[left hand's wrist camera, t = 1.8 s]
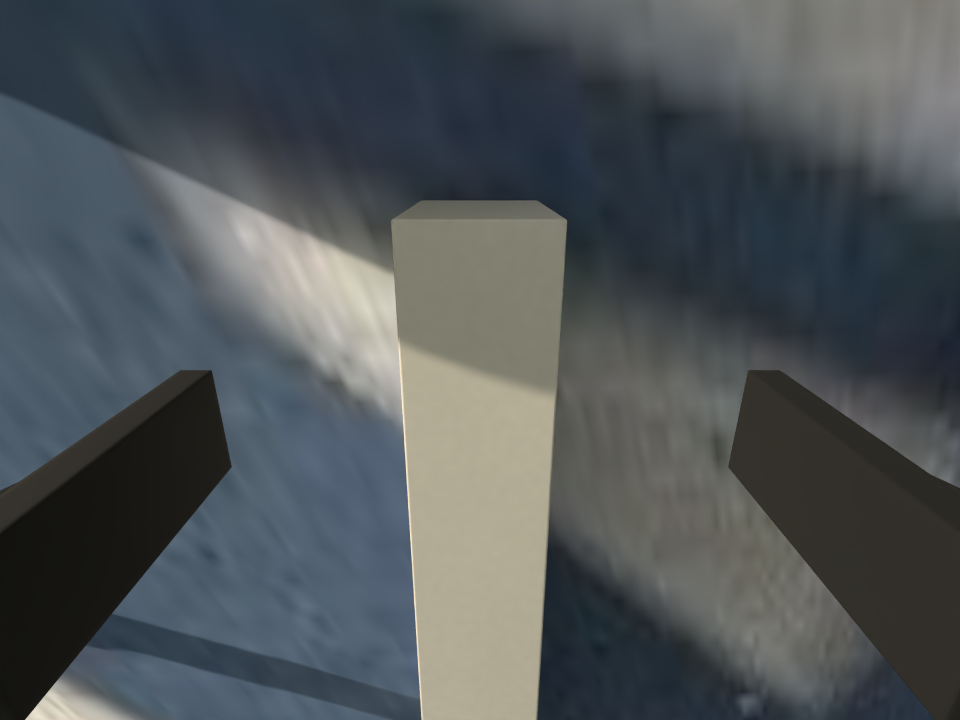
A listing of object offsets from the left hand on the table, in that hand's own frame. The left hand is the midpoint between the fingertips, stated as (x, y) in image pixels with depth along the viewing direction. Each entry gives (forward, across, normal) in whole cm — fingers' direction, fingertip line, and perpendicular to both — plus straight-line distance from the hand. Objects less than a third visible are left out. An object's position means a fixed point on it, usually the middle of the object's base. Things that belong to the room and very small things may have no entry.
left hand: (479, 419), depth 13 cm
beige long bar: (+13, 0, -22) cm, 26 cm away
